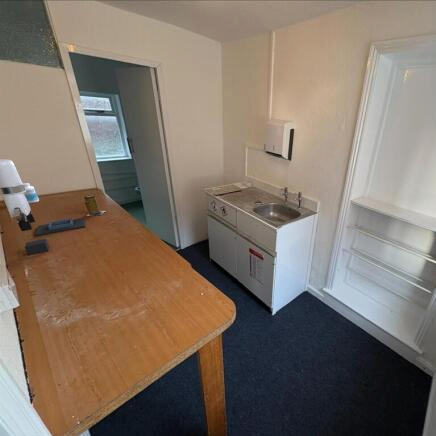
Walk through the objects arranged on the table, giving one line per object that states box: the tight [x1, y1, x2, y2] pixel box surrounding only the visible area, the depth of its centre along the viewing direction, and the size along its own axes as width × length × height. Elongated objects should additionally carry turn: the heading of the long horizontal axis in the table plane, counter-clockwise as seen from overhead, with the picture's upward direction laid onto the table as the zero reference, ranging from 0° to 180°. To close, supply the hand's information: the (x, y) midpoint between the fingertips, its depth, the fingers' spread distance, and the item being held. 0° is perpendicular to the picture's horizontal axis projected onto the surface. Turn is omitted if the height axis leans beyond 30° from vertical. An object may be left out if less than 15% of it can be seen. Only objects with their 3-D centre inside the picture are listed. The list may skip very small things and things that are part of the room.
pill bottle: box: [22, 182, 40, 204], centre depth 163 cm, size 8×7×14 cm
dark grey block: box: [24, 238, 50, 256], centre depth 109 cm, size 6×5×4 cm
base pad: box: [34, 217, 86, 237], centre depth 132 cm, size 20×14×3 cm
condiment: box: [83, 194, 106, 217], centre depth 149 cm, size 7×8×12 cm
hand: (28, 226), depth 104 cm, fingers open, 9 cm apart
